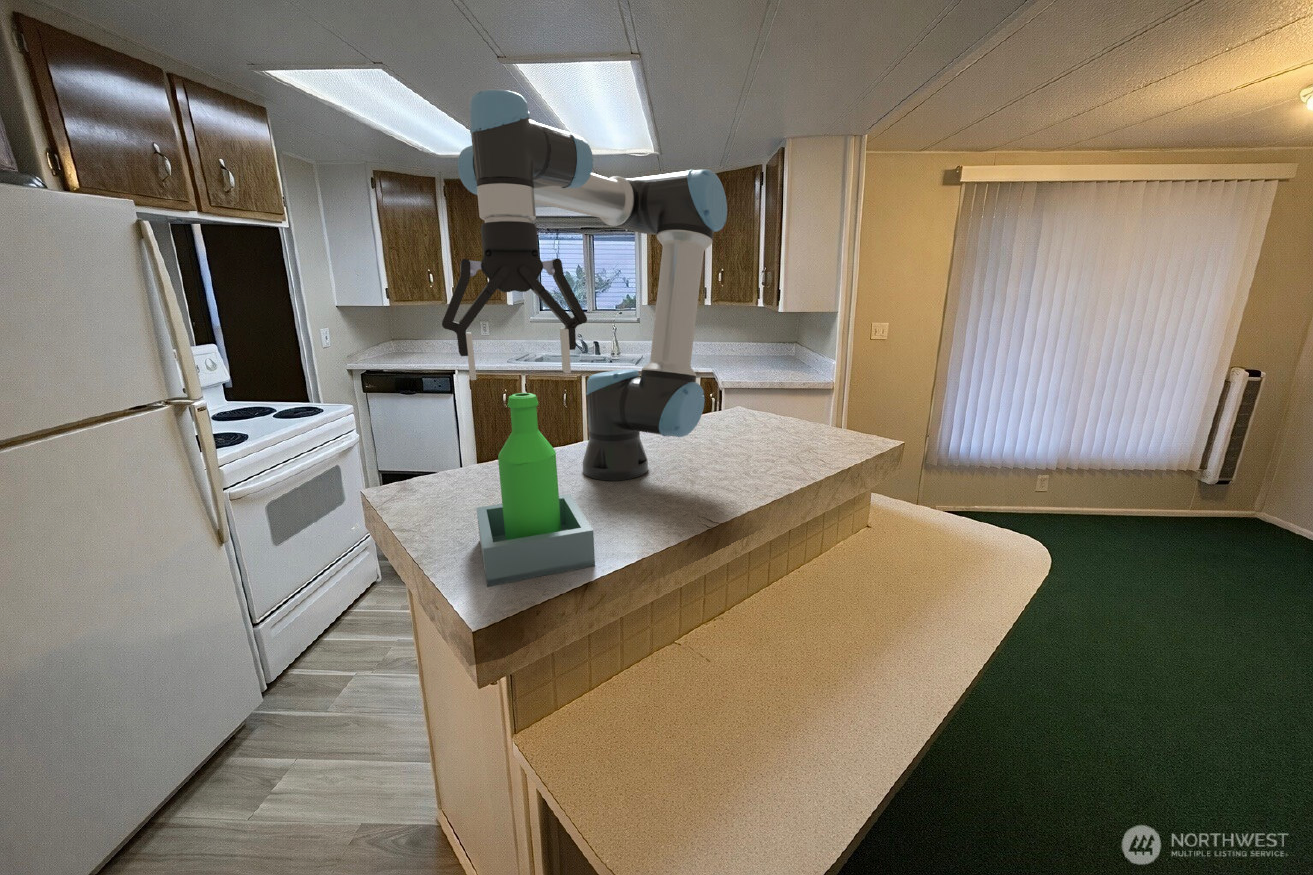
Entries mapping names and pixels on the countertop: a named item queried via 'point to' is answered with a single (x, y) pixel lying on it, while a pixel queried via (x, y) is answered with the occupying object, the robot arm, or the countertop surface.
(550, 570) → the bin
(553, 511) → the bottle
